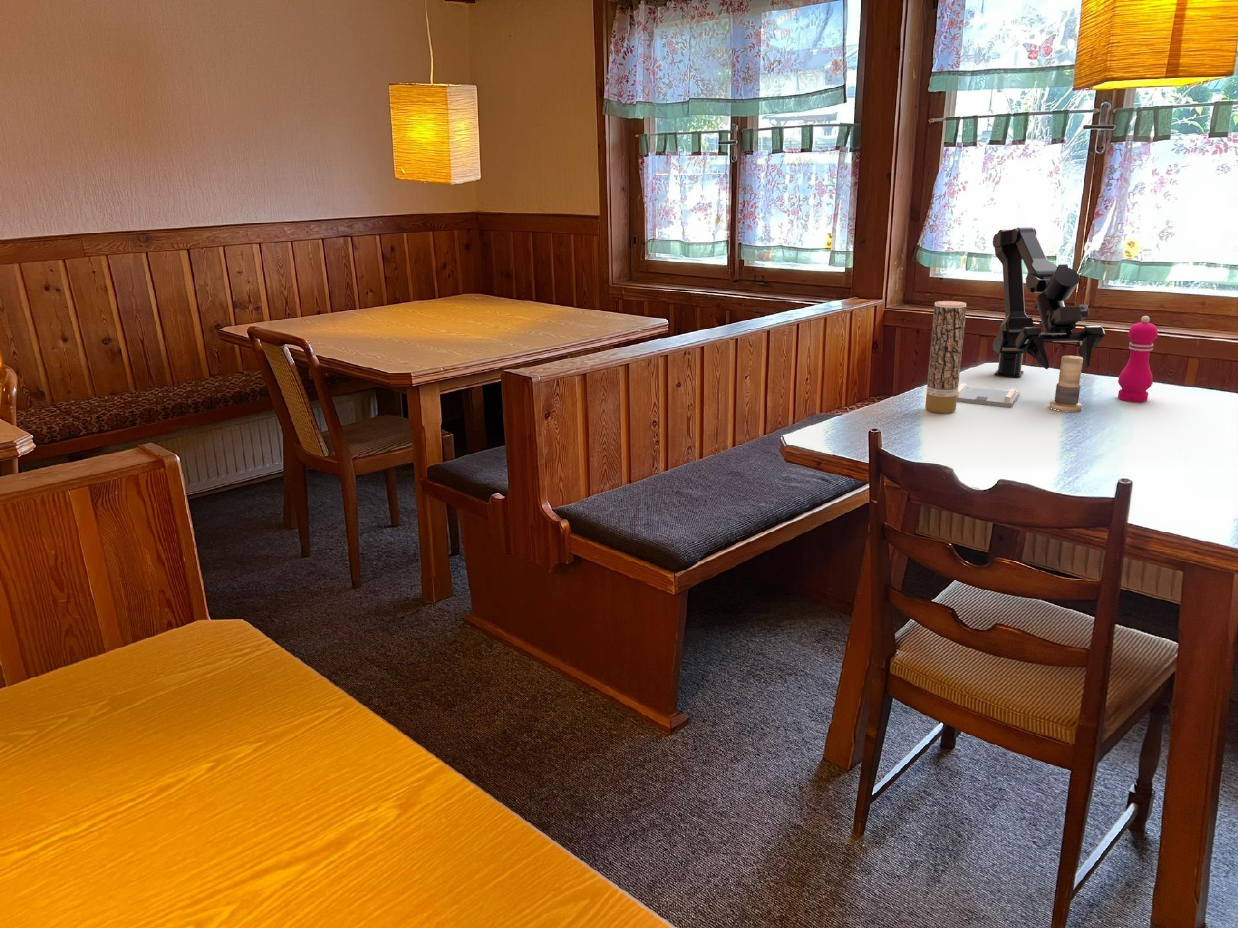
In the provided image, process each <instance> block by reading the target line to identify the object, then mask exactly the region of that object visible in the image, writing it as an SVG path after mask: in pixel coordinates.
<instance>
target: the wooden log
mask: <svg viewBox="0 0 1238 928" xmlns="http://www.w3.org/2000/svg"><path fill="white" fill-rule="evenodd" d="M966 313H967V302H964V301H958V300H957V301H956V300H955V301H954V300H942V301H941V300H939V301H935V302H934V306H933V315H932V316H933V317H932V328H931V329H932V330H931V337H930V338H931V340H930V351H929V363H928V373H927V383H926V396H925V409H926V410H927V411H928V412H931V413H934V414H951V413H953V412H955V411H956V409H957V403H958V402H957V394H958V387H959V383H960V373H961V372H960V371H961V362H962V352H963V343H964V333H965V326H966V325H965V324H966V316H967V315H966Z"/></svg>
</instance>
